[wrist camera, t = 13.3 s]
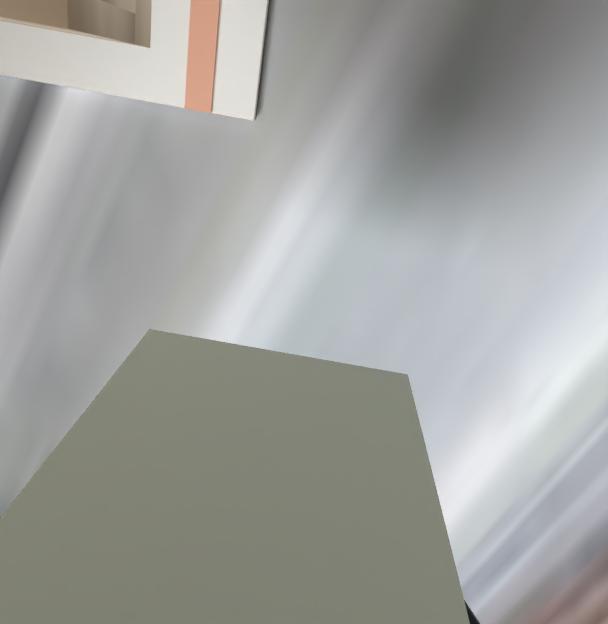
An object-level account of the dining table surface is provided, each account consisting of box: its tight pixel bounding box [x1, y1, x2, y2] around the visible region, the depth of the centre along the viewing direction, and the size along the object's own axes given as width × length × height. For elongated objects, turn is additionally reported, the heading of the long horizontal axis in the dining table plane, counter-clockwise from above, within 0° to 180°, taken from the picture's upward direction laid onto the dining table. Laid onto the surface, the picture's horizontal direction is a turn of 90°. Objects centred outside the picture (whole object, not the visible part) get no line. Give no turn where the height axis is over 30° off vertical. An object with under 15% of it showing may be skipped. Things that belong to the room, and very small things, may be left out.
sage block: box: [0, 329, 470, 624], centre depth 7 cm, size 5×5×7 cm
